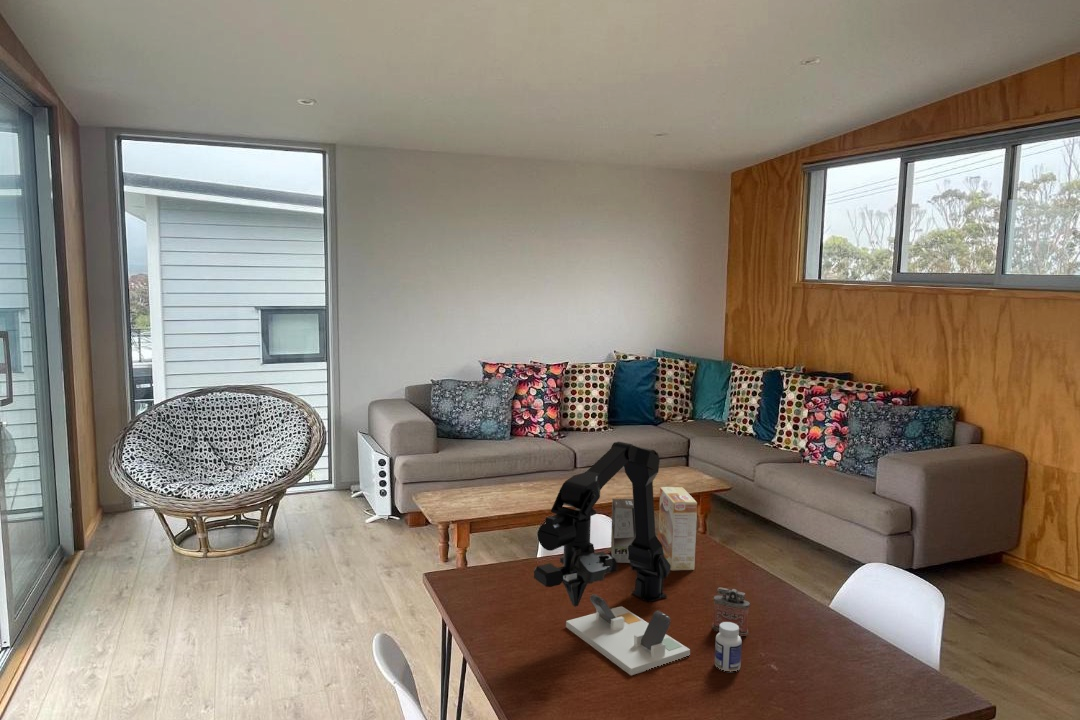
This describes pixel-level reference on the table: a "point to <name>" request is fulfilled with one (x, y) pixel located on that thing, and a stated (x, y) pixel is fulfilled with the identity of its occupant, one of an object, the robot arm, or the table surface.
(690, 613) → the table surface
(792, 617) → the table surface
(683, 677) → the table surface
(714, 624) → the lighter
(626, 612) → the breaker panel
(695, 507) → the coffeecake box
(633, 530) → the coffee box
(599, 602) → the breaker lever
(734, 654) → the pill bottle
